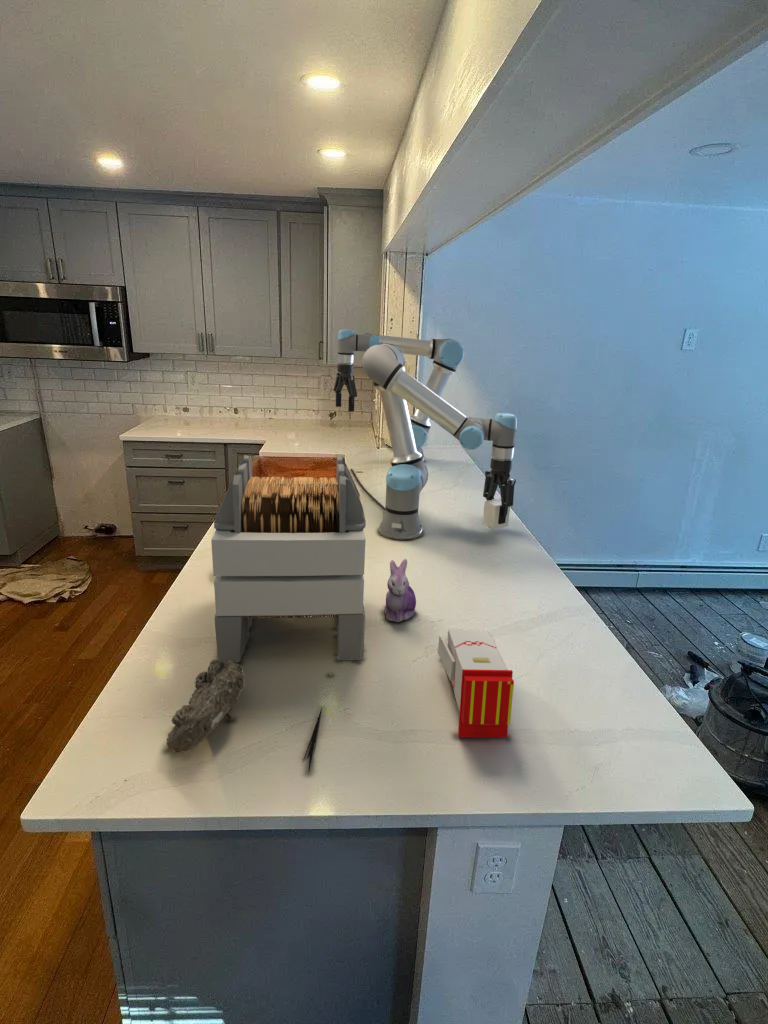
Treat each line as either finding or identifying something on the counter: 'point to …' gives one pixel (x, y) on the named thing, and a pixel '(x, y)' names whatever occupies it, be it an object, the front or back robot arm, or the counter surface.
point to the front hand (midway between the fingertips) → (495, 520)
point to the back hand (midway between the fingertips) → (344, 409)
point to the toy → (478, 682)
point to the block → (494, 514)
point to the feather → (313, 740)
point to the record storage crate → (289, 556)
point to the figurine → (399, 594)
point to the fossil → (206, 705)
